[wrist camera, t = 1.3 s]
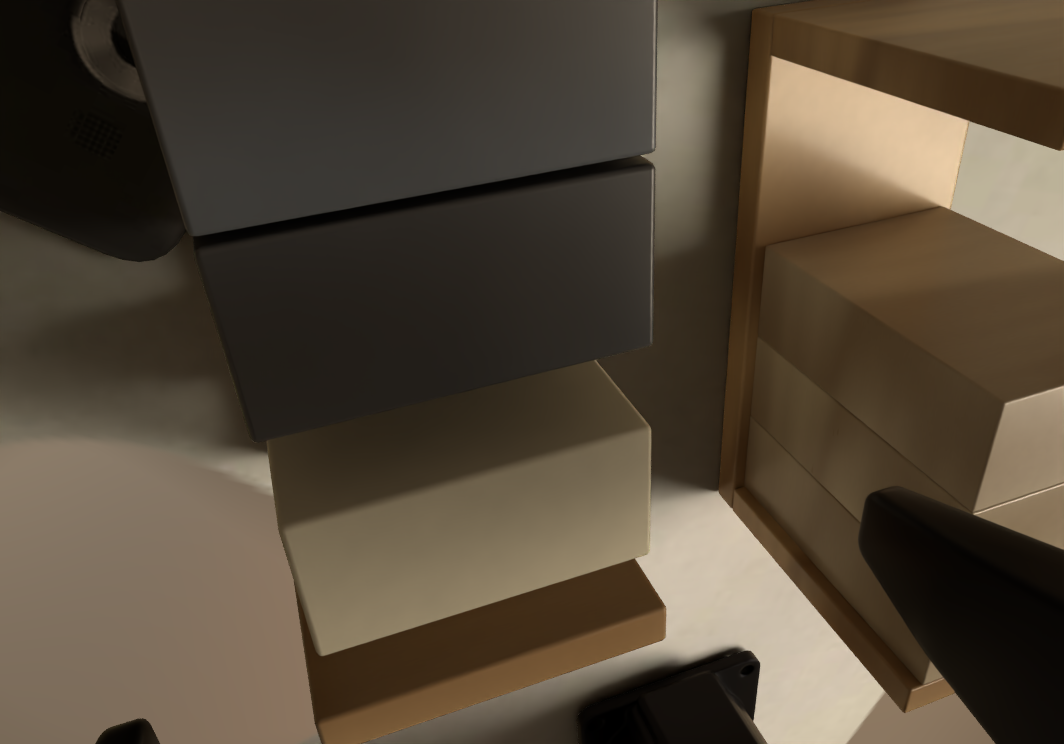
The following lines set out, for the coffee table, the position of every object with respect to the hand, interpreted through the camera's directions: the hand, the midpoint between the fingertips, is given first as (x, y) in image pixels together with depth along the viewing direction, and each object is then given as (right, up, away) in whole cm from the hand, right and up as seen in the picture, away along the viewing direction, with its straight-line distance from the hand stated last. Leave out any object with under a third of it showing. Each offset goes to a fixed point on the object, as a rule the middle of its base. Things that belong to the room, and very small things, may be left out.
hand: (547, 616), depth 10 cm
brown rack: (+7, +6, +11) cm, 15 cm away
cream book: (-3, +4, +7) cm, 9 cm away
